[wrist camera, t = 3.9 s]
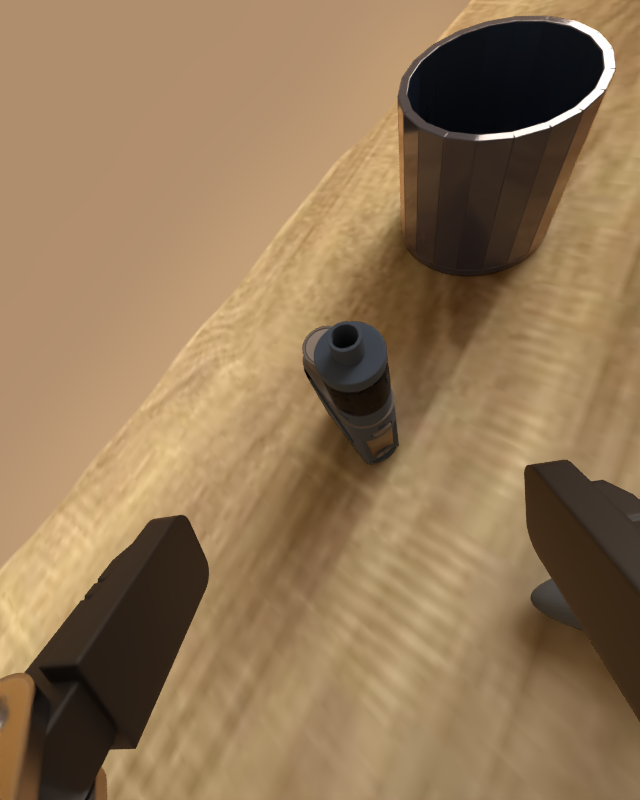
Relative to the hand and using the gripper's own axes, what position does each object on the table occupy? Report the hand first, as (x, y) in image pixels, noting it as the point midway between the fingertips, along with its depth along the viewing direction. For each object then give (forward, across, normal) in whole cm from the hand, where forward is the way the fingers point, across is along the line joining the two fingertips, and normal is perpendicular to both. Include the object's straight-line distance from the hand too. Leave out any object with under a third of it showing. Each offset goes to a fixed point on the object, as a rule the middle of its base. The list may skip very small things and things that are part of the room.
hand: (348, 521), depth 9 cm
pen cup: (+23, -10, -6) cm, 26 cm away
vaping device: (+13, 0, +4) cm, 14 cm away
